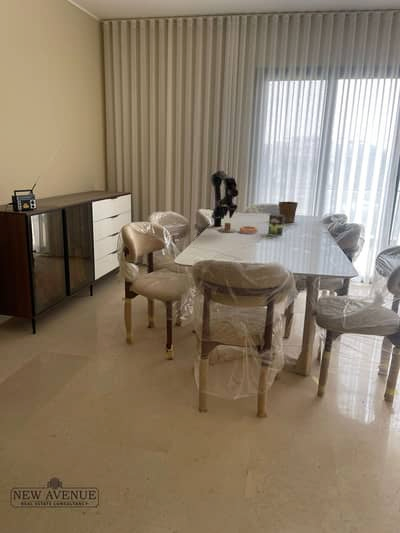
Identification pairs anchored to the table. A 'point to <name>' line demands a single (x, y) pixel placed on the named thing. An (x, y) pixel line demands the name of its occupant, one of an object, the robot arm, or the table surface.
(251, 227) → the bowl
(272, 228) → the coffee can
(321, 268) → the table surface
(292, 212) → the plant pot
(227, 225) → the lid
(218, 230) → the mat
